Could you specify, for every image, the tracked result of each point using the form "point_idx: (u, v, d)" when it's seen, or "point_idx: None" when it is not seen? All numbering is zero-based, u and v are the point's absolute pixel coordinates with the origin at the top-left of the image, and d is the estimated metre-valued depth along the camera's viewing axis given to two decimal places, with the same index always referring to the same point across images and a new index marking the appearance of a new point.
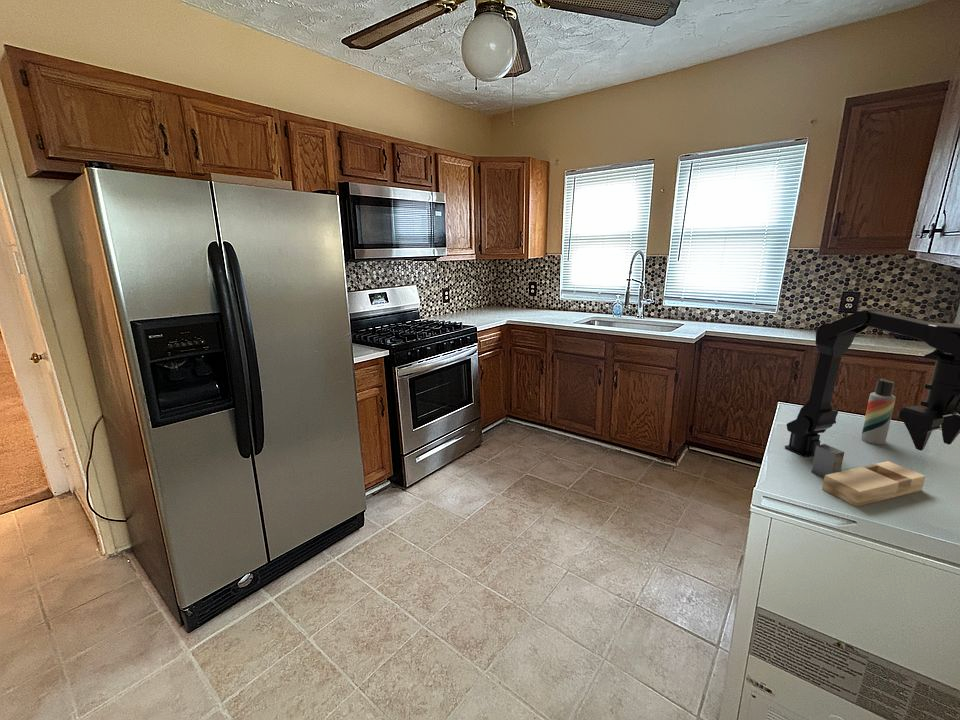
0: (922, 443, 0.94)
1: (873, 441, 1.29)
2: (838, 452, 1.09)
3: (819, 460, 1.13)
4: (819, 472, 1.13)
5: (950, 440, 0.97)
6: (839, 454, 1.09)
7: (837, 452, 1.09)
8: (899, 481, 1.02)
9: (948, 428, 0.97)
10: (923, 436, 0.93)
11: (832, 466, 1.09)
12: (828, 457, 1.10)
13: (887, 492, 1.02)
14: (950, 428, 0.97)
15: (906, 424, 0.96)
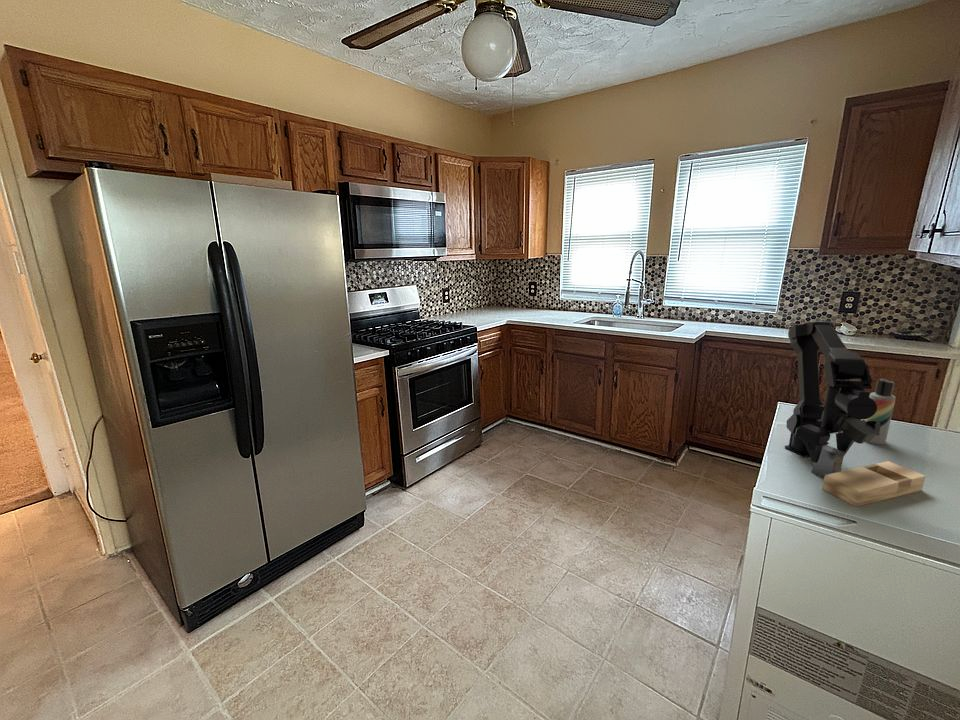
0: (816, 456, 1.10)
1: (873, 441, 1.29)
2: (838, 452, 1.09)
3: (819, 460, 1.13)
4: (819, 472, 1.13)
5: None
6: (839, 454, 1.09)
7: (837, 452, 1.09)
8: (899, 481, 1.02)
9: (841, 443, 1.13)
10: (816, 450, 1.09)
11: (832, 466, 1.09)
12: (828, 457, 1.10)
13: (887, 492, 1.02)
14: (843, 443, 1.12)
15: (803, 440, 1.11)
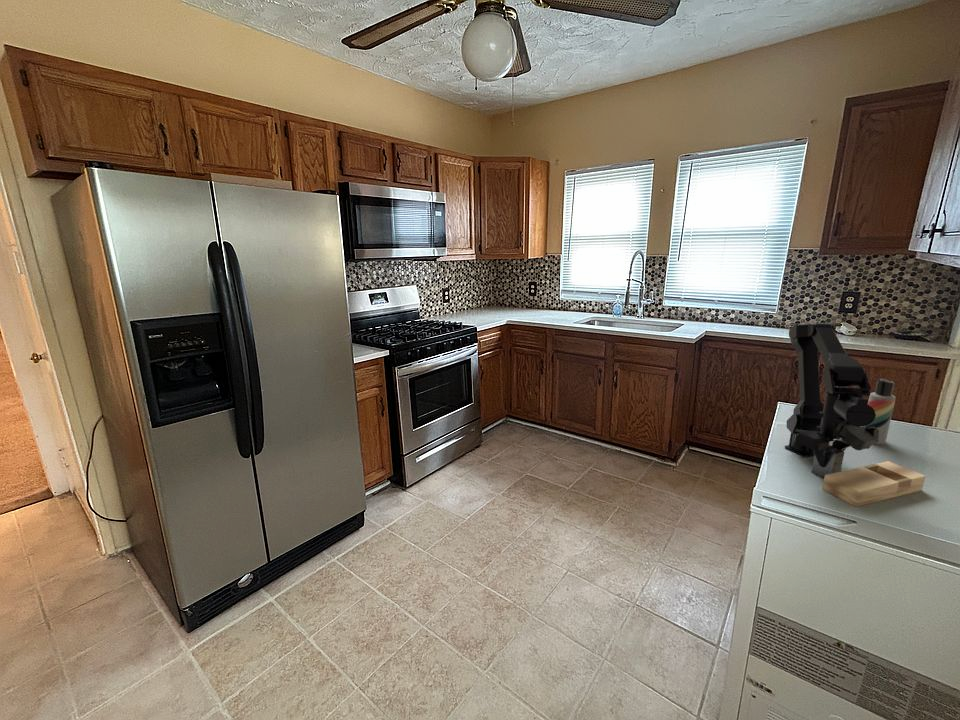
0: (823, 461, 1.11)
1: None
2: (838, 452, 1.09)
3: None
4: (819, 472, 1.13)
5: None
6: (839, 454, 1.09)
7: (837, 452, 1.09)
8: (899, 481, 1.02)
9: None
10: (823, 455, 1.10)
11: (832, 466, 1.09)
12: (828, 457, 1.10)
13: (887, 492, 1.02)
14: None
15: None
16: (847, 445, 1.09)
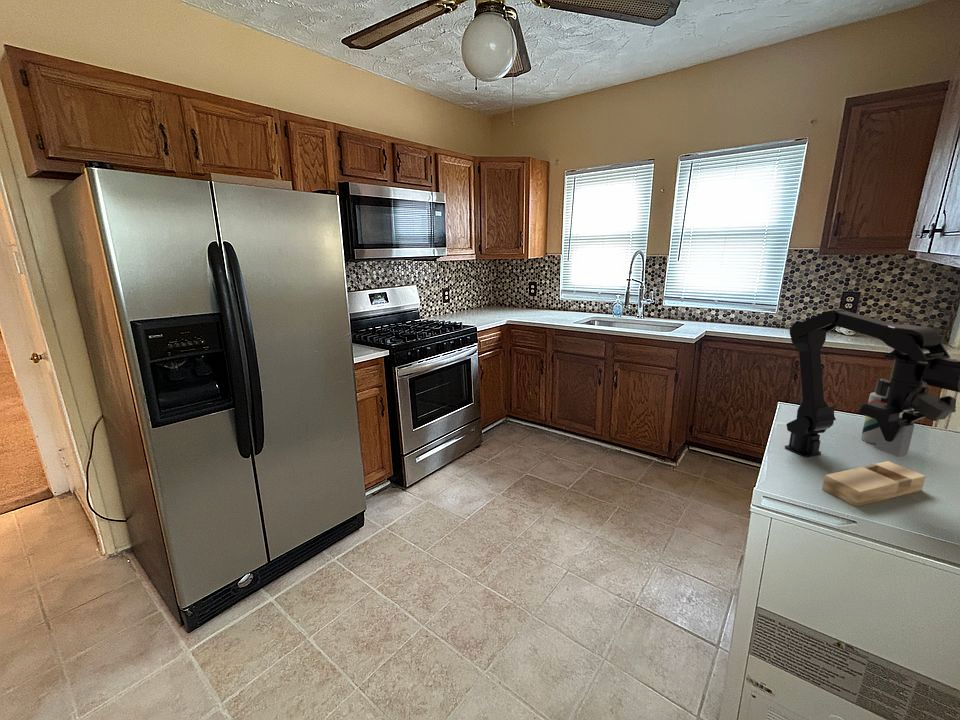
0: (891, 435, 1.02)
1: (873, 441, 1.29)
2: (908, 425, 1.00)
3: None
4: (885, 447, 1.04)
5: None
6: (909, 427, 1.00)
7: (906, 425, 1.00)
8: (899, 481, 1.02)
9: None
10: (891, 428, 1.01)
11: (901, 440, 1.01)
12: (896, 431, 1.02)
13: (887, 492, 1.02)
14: None
15: None
16: (917, 417, 1.00)
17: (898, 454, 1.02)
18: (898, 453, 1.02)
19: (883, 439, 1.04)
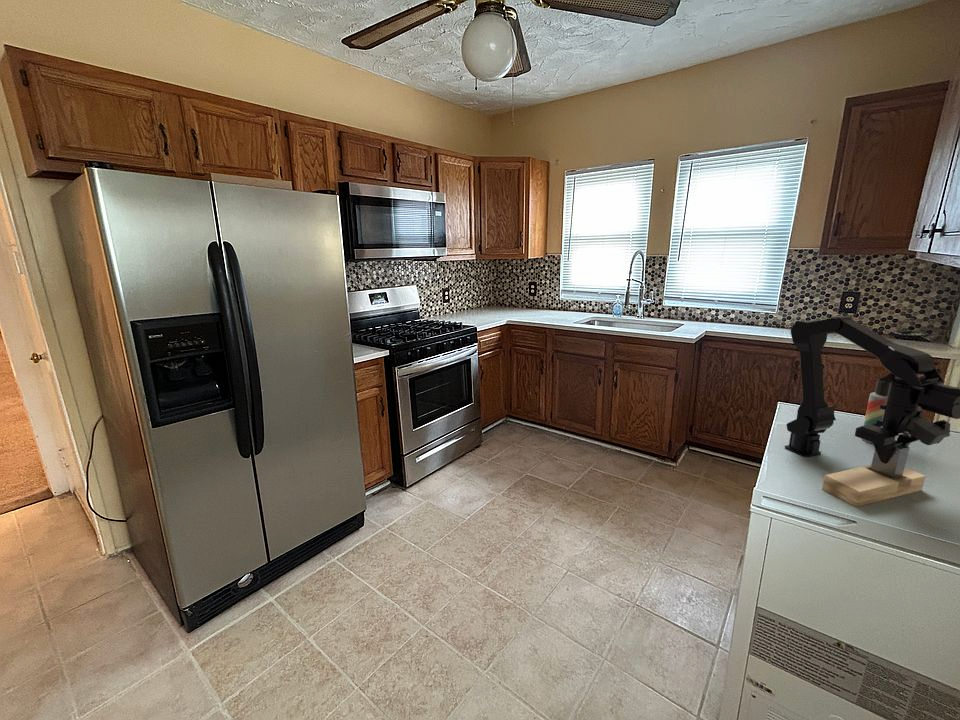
0: (886, 457, 1.04)
1: None
2: (903, 447, 1.02)
3: None
4: (880, 469, 1.06)
5: None
6: (904, 449, 1.02)
7: (901, 447, 1.02)
8: (899, 481, 1.02)
9: None
10: (886, 451, 1.03)
11: (896, 462, 1.02)
12: (891, 453, 1.03)
13: (887, 492, 1.02)
14: None
15: None
16: (912, 440, 1.02)
17: (893, 476, 1.03)
18: (893, 475, 1.03)
19: (879, 460, 1.06)
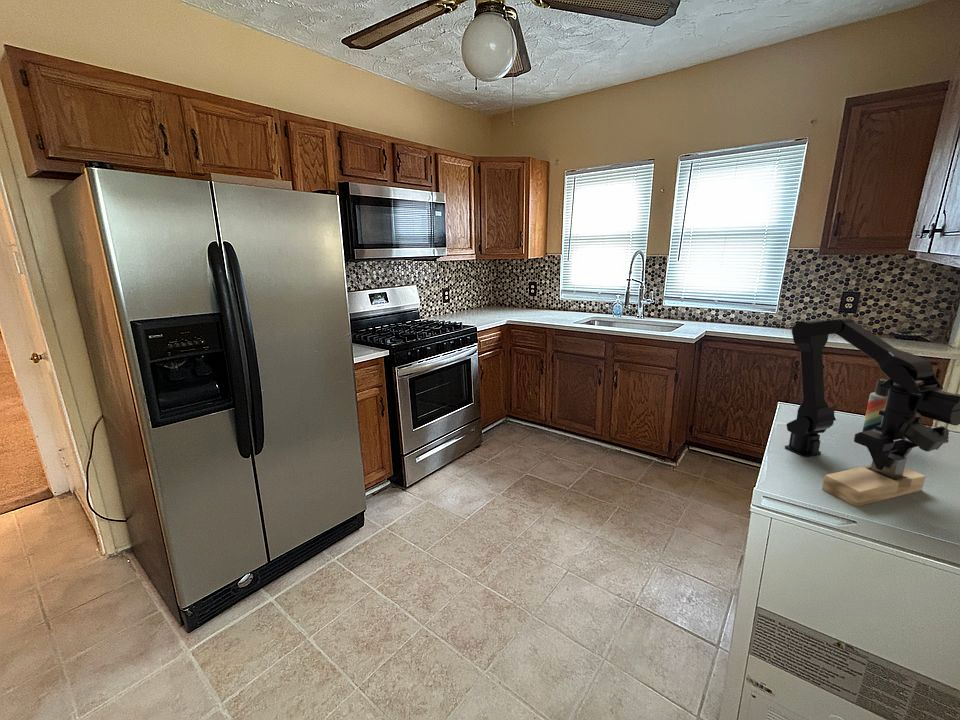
0: (881, 463, 1.04)
1: None
2: (900, 458, 1.03)
3: None
4: None
5: None
6: (901, 461, 1.03)
7: (899, 459, 1.03)
8: (899, 481, 1.02)
9: (896, 451, 1.06)
10: (882, 457, 1.03)
11: (894, 473, 1.03)
12: (889, 464, 1.04)
13: (887, 492, 1.02)
14: (898, 451, 1.06)
15: None
16: (914, 445, 1.03)
17: None
18: None
19: (876, 471, 1.07)
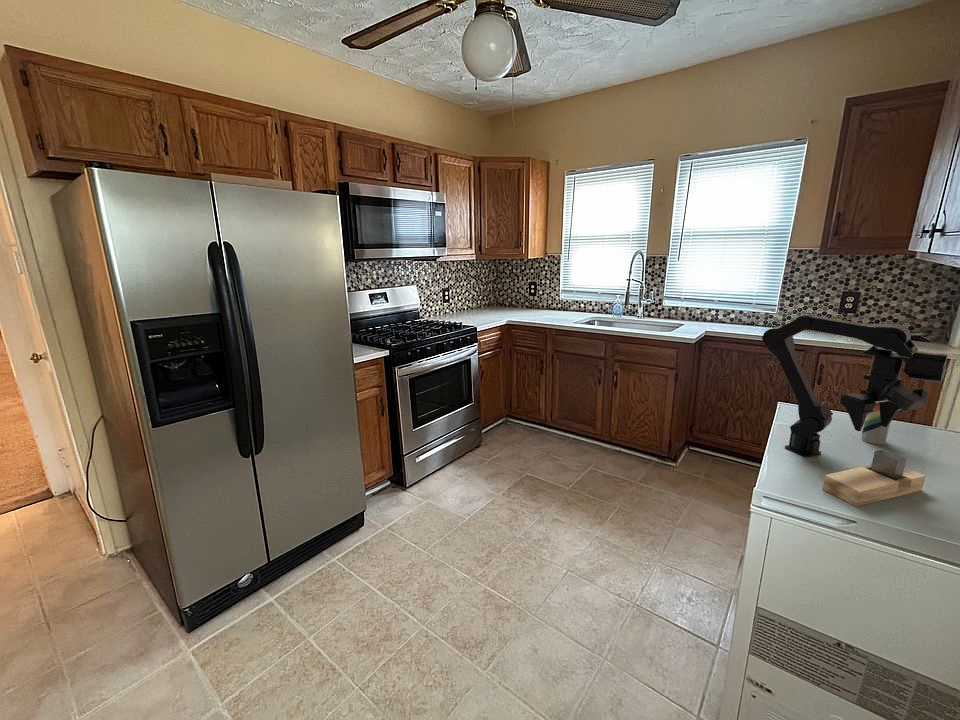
0: (860, 425, 1.11)
1: (873, 441, 1.29)
2: (900, 458, 1.03)
3: (878, 467, 1.06)
4: None
5: (886, 423, 1.13)
6: (901, 461, 1.03)
7: (899, 459, 1.03)
8: (899, 481, 1.02)
9: (885, 413, 1.14)
10: (860, 419, 1.10)
11: (894, 473, 1.03)
12: (889, 464, 1.04)
13: (887, 492, 1.02)
14: (886, 413, 1.13)
15: (847, 409, 1.12)
16: None
17: None
18: None
19: (876, 471, 1.07)
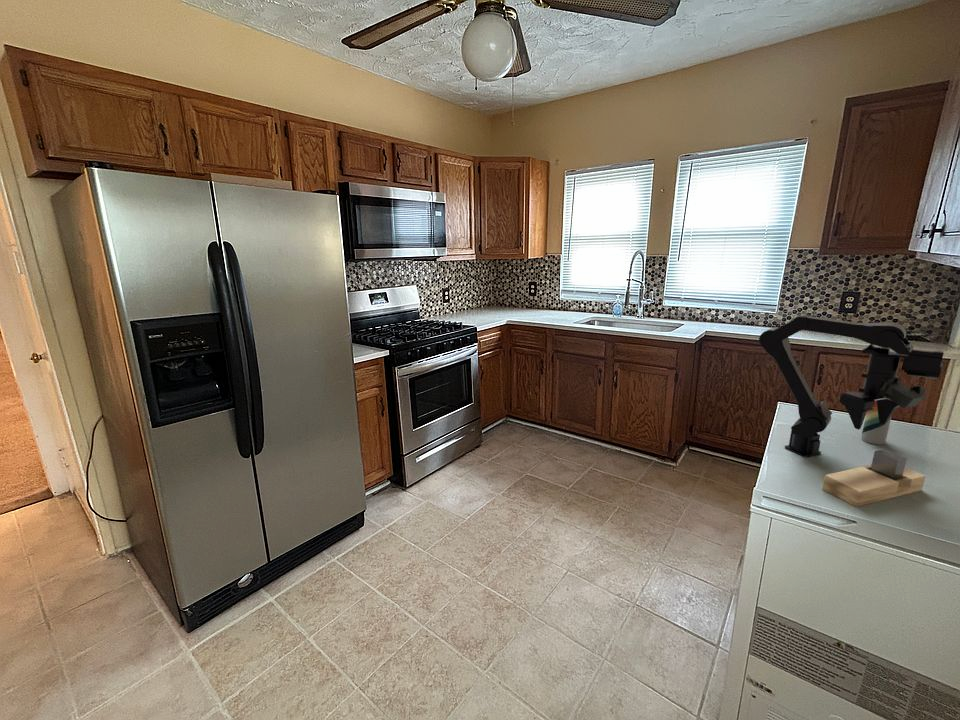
0: (859, 423, 1.12)
1: (873, 441, 1.29)
2: (900, 458, 1.03)
3: (878, 467, 1.06)
4: None
5: (884, 421, 1.14)
6: (901, 461, 1.03)
7: (899, 459, 1.03)
8: (899, 481, 1.02)
9: (883, 411, 1.15)
10: (859, 417, 1.11)
11: (894, 473, 1.03)
12: (889, 464, 1.04)
13: (887, 492, 1.02)
14: (884, 411, 1.14)
15: (846, 407, 1.13)
16: None
17: None
18: None
19: (876, 471, 1.07)
